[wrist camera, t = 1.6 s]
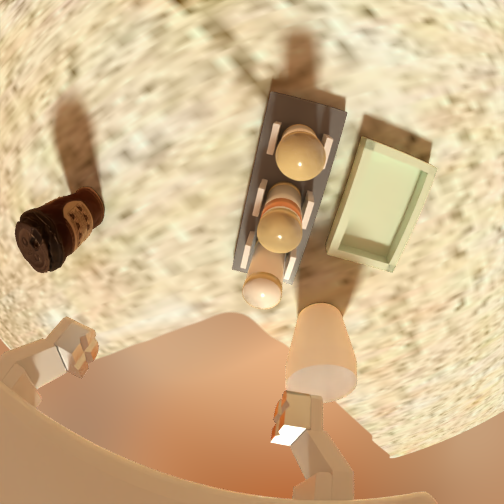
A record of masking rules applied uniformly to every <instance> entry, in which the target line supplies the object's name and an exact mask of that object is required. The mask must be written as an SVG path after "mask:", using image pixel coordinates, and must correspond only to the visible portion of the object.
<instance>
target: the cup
mask: <svg viewBox="0 0 504 504" xmlns="http://www.w3.org/2000/svg"><path fill="white" fill-rule="evenodd" d="M356 385H357V361H356V357H355V354H354V351H353V348H352V345H351V342H350V339H349V336H348V333H347V330H346V327H345V324H344V321H343V318H342V315H341V313H340V311H339V310H338V309H337V308H336V307H335V306H333V305H330V304H327V303H316V304H312V305H309V306H307V307H305V308H304V309H303V310H302V311H301V312H300V313H299V315H298V319H297V323H296V327H295V331H294V335H293V339H292V342H291V346H290V350H289V354H288V358H287V362H286V390H288V391H294V392H300V393H306V394H310V395H317V396H322V398H323V403H325V402H332V401H336V400H339V399H341V398H343V397H345V396H347V395H348V394H350V393H351V392H352V391H353V390H354V389H355V387H356Z"/></svg>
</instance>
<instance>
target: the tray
mask: <svg viewBox="0 0 504 504" xmlns="http://www.w3.org/2000/svg"><path fill="white" fill-rule="evenodd" d="M437 169H438V168H436V167H434V166H433V165H431V164H429V163H427V162H425V161H423V160H421V159H418V158H416V157H414V156H412V155H409V154H407V153H405V152H402V151H400V150H397V149H395V148H393V147H390V146H388V145H385V144H382V143H380V142H377V141H374V140H372V139H369V138H366V137H364V136H362V137H361V140H360V143H359V147H358V150H357V153H356V156H355V160H354V163H353V166H352V169H351V172H350V175H349V178H348V181H347V184H346V187H345V190H344V193H343V196H342V199H341V202H340V205H339V208H338V211H337V214H336V217H335V219H334V222H333V225H332V228H331V230H330V233H329V236H328V239H327V241H326V244H325V246H326V252H327V255H329V256H333V257H337V258H341V259H344V260H348V261H352V262H355V263H359V264H363V265H366V266H370V267H374V268H377V269H381V270H385V271H388V272H393V270H394V269H395V267H396V265H397V263H398V261H399V259H400V257H401V255H402V253H403V251H404V248H405V246H406V244H407V242H408V240H409V238H410V236H411V234H412V231H413V229H414V227H415V225H416V222H417V220H418V218H419V215H420V213H421V211H422V208H423V206H424V203H425V201H426V199H427V196H428V193H429V191H430V188H431V186H432V183H433V180H434V178H435V175H436V172H437Z"/></svg>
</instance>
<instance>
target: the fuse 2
mask: <svg viewBox="0 0 504 504" xmlns="http://www.w3.org/2000/svg"><path fill="white" fill-rule="evenodd" d="M325 161H326V153H325V149H324V147H323V145H322V143H321V142H320V140H319V139H318V138H317V136H316V134H315V133H314V131H313V130H312V129H311V128H310V127H308V126H306V125H303V124H295V125H292V126H290V127H288V128H287V129H286V130H285V131H284V133H283V135H282V138H281V141H280V142H279V144H278V147H277V149H276V163H277V165H278V167H279V169H280V170H281V172H282V173H283V174H284V175H285V176H287V177H289V178H291V179H293V180H297V181H305V180H310V179H312V178H314V177H316V176H317V175H318V174H319V173H320V172H321V171H322V169H323V167H324V165H325Z"/></svg>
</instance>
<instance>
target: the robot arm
mask: <svg viewBox="0 0 504 504" xmlns="http://www.w3.org/2000/svg"><path fill="white" fill-rule="evenodd" d="M95 336H96V333H95V330H93V329H91V328H89V327H87V326H85V325H83V324H81V323H79V322H77V321H75V320H73V319H71V318H69V317H65V318H63V319H62V320H61V321H60V323H59V324H58V325H57V326H56V327H55V328H54V329H53V331H52V332H51V333H50V334H49V335H48V337H47V338H46V339H43V338H42V339H40V340H37V341H34V342H31V343H29V344H26V345H23V346H21V347H18V348H15V349H12V350H10V351H7V352H4V354H3V355H2V356H1V357H0V504H438V503H437V502H436V500H435V499H434V498H433V497H432V496H431V495H430V494H428V493H427V492H417V493H411V494H405V495H399V496H392V497H383V498H373V499H360V500H354V471H353V470H352V469H351V467H350V466H349V464H348V463H347V461H346V460H345V458H344V457H343V456H342V454H341V453H340V451H339V449H338V448H337V447H336V445H335V443H334V442H333V441H332V439H331V437H330V436H329V434H328V433H327V432H326V431H323V398H322V396H317V395H310V394H306V393H300V392H294V391H288V390H286V391H284V393H283V395H282V399H280V400H279V401H278V403H277V405H276V408H275V412H274V417H273V420H274V422H275V423H276V424H275V425H274V427H273V428H272V433H271V441H270V442H272V443H277V444H283V445H289V446H290V448H291V450H292V452H293V454H294V456H295V458H296V460H297V463H298V465H299V467H300V469H301V471H302V473H303V474H304V477H305V479H306V480H305V481H303V482H302V483H300V484H298V485H297V486H295V487H294V488H293V497H292V499H285V498H275V497H265V496H259V495H251V494H245V493H240V492H234V491H229V490H224V489H219V488H215V487H211V486H207V485H203V484H199V483H195V482H192V481H188V480H185V479H181V478H178V477H175V476H172V475H169V474H165V473H163V472H160V471H157V470H154V469H151V468H149V467H146V466H143V465H141V464H138V463H136V462H133V461H131V460H129V459H126V458H124V457H122V456H119V455H117V454H115V453H113V452H111V451H109V450H107V449H104V448H102V447H100V446H98V445H96V444H94V443H92V442H90V441H88V440H87V439H85V438H83V437H81V436H79V435H77V434H76V433H74V432H72V431H71V430H69V429H67V428H66V427H64V426H62V425H61V424H59V423H57V422H56V421H54V420H53V419H51V418H50V417H48V416H47V415H45V414H44V413H42V412H40V411H39V410H38V409H37V407H38V406H39V404H40V402H41V401H42V397H41V395H40V394H39V392H38V391H37V389H38V388H40V387H41V386H43V385H45V384H47V383H49V382H50V381H52V380H54V379H56V378H58V377H59V376H61V375H63V374H65V373H67V372H69V373H71V374H73V375H75V376H77V377H79V378H81V379H82V378H83V376H84V375H85V373H86V372H87V370H88V369H89V366H88V363H90V362H93V361H94V359H95V358H96V356H97V353H98V349H99V345H98V342H97V340H96V339H95Z"/></svg>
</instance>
